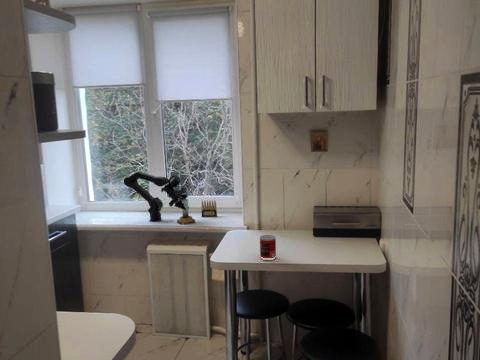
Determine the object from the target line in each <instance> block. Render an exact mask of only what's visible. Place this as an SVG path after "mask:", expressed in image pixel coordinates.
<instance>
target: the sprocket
mask: <svg viewBox="0 0 480 360" xmlns="http://www.w3.org/2000/svg"><path fill="white" fill-rule="evenodd" d="M176 223H177V224H178V225H183V226H184V225H193V224H195V223H196V219H195V218H193V216H192V215H189V218H183V215H182V216H180V217H179V219H177V220H176Z"/></svg>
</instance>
